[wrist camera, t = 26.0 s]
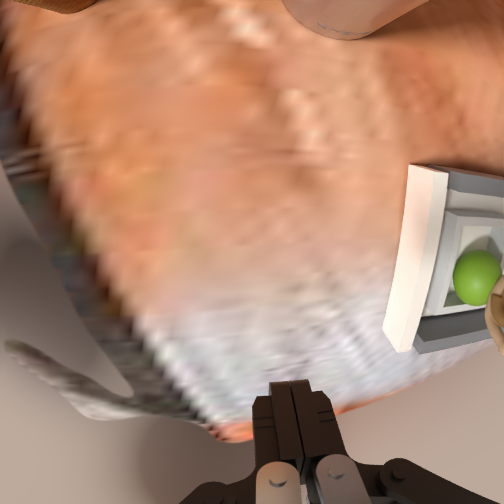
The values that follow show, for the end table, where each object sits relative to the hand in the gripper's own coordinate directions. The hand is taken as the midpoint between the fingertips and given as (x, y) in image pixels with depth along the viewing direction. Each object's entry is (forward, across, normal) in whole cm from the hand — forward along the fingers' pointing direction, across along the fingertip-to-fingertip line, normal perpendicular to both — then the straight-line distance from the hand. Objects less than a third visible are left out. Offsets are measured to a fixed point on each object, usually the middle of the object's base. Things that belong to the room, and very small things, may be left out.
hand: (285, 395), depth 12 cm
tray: (+16, -22, +1) cm, 27 cm away
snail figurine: (+15, -21, +3) cm, 26 cm away
